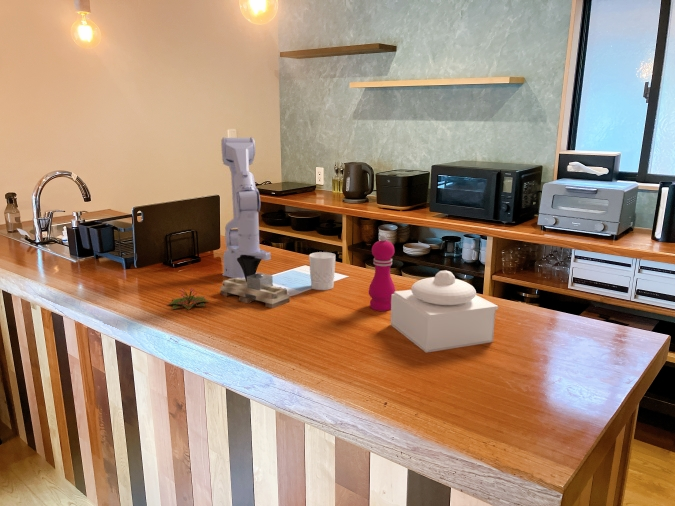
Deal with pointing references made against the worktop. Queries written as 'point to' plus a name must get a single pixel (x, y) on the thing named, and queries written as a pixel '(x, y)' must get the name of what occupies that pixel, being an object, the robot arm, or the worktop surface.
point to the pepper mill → (382, 275)
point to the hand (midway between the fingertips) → (250, 281)
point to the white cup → (322, 270)
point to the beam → (255, 293)
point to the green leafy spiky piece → (188, 299)
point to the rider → (259, 281)
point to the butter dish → (443, 314)
